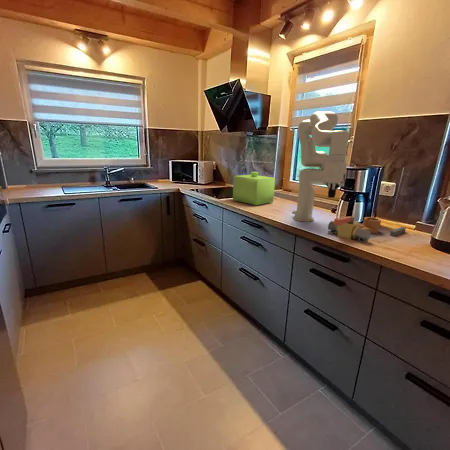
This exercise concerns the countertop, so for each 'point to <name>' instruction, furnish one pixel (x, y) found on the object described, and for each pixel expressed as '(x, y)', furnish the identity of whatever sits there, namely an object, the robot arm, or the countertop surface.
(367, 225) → the small saucepan
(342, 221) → the lever
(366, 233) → the valve body
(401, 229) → the block
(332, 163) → the robot arm
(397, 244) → the countertop surface
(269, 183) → the canister
